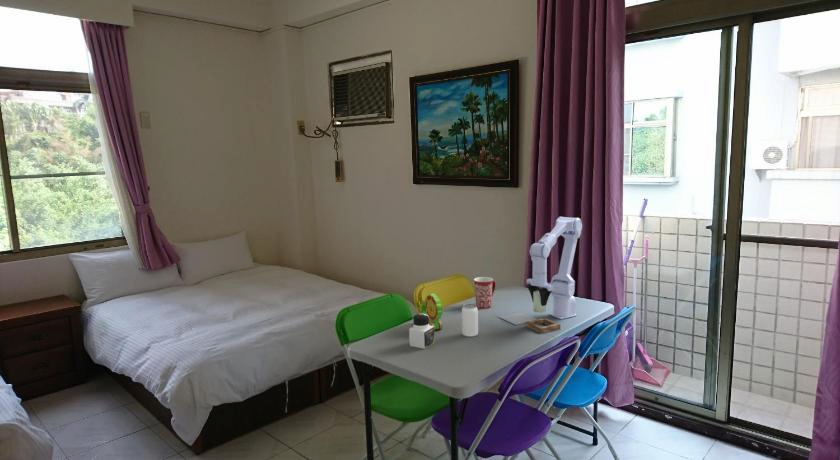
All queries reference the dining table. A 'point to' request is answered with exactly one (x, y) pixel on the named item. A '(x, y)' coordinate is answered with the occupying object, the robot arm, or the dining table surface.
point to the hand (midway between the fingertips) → (539, 303)
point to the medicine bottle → (421, 332)
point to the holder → (550, 327)
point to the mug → (484, 291)
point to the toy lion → (432, 310)
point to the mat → (517, 318)
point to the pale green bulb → (537, 303)
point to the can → (469, 320)
